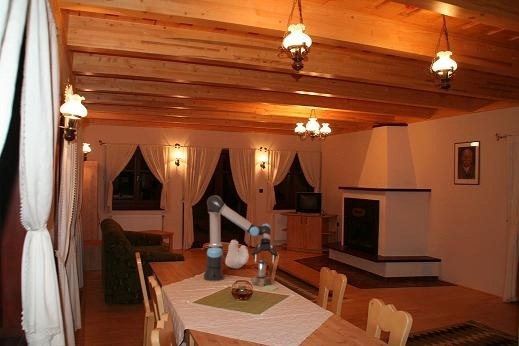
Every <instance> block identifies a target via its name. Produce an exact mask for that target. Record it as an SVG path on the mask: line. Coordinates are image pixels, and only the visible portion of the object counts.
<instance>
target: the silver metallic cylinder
mask: <svg viewBox="0 0 519 346" xmlns="http://www.w3.org/2000/svg"><path fill="white" fill-rule="evenodd" d="M256 262H257V265H258V267H257V270H258V271H257V276H258V278H260V279H264V278H265V277H266V263H267V259H256Z"/></svg>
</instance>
